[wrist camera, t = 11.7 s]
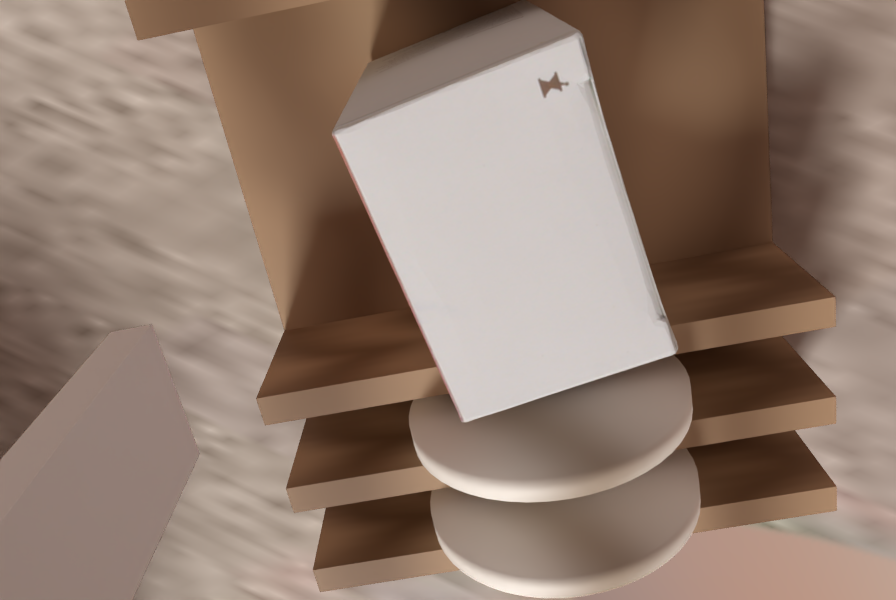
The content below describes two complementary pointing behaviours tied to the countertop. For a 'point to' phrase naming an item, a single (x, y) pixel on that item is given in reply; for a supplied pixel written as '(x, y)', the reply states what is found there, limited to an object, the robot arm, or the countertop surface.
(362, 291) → the rack
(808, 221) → the countertop surface
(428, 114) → the small box
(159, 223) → the countertop surface
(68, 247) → the countertop surface
